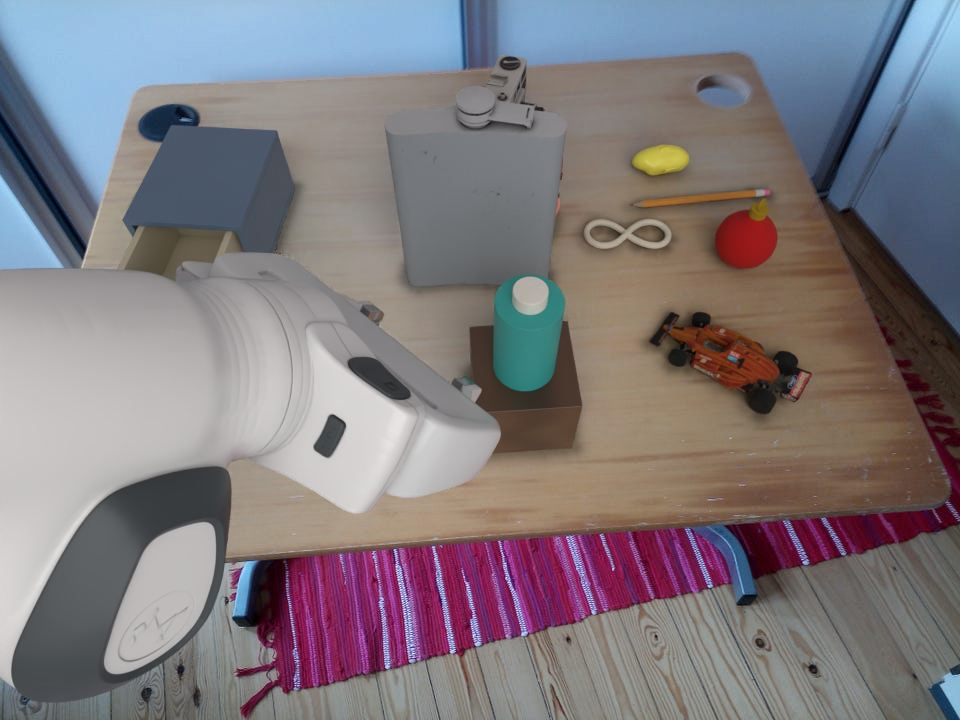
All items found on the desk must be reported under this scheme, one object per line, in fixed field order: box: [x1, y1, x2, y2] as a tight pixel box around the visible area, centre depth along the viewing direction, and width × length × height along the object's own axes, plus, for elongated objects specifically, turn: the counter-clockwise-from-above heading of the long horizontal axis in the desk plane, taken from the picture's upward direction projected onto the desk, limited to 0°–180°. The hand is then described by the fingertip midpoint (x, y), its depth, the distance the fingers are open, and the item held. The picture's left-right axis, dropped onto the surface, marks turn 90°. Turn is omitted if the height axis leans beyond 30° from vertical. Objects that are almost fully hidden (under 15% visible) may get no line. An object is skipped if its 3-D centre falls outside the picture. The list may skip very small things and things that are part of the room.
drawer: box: [116, 226, 245, 281], centre depth 76 cm, size 20×12×8 cm, turn 175°
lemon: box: [631, 144, 691, 176], centre depth 91 cm, size 4×8×4 cm, turn 92°
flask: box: [384, 85, 567, 288], centre depth 72 cm, size 17×5×25 cm, turn 88°
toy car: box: [649, 311, 813, 415], centre depth 74 cm, size 8×16×4 cm, turn 53°
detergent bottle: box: [493, 274, 566, 391], centre depth 60 cm, size 6×6×12 cm
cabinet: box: [121, 124, 296, 253], centre depth 83 cm, size 17×14×10 cm
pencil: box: [629, 188, 771, 209], centre depth 89 cm, size 1×1×19 cm
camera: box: [484, 54, 546, 112], centre depth 92 cm, size 14×9×10 cm, turn 156°
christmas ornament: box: [714, 197, 779, 270], centre depth 80 cm, size 7×7×10 cm
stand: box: [468, 320, 584, 454], centre depth 69 cm, size 10×10×9 cm
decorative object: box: [582, 218, 672, 250], centre depth 86 cm, size 11×1×5 cm
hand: (420, 353), depth 47 cm, fingers open, 8 cm apart
